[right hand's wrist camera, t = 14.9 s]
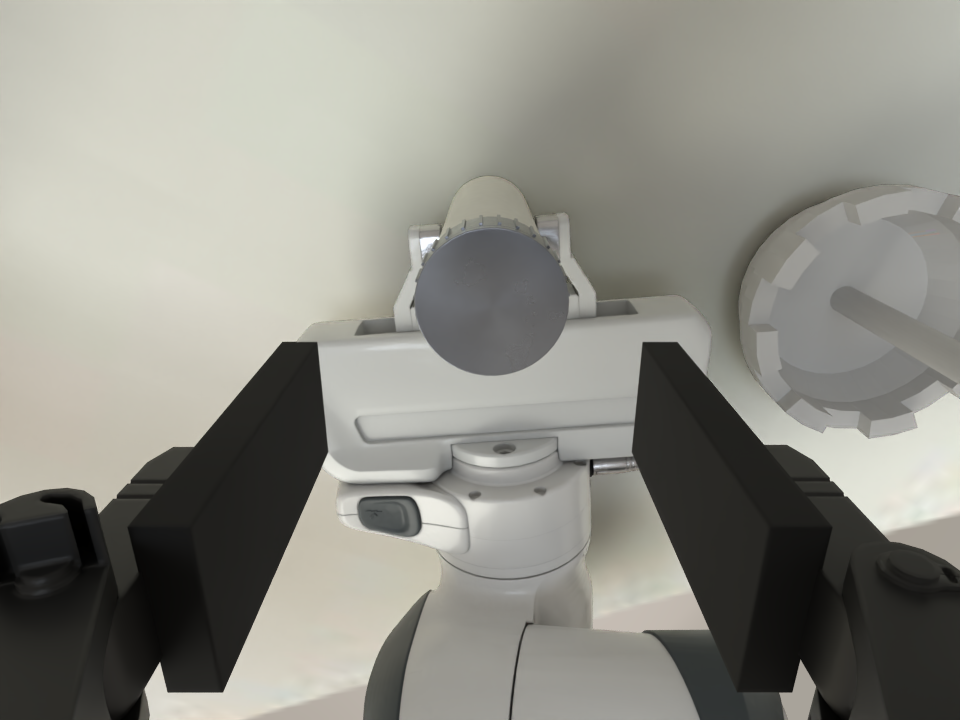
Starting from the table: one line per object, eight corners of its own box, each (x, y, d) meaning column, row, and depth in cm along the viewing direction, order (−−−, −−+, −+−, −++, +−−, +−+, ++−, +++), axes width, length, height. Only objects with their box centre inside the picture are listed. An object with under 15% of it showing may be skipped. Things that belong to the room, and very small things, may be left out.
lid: (387, 292, 22) (378, 310, 20) (485, 181, 21) (486, 188, 19) (495, 382, 23) (496, 407, 21) (594, 282, 22) (604, 299, 20)
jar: (432, 219, 36) (394, 305, 21) (486, 157, 34) (486, 201, 19) (491, 271, 37) (495, 390, 22) (545, 213, 36) (589, 296, 20)
